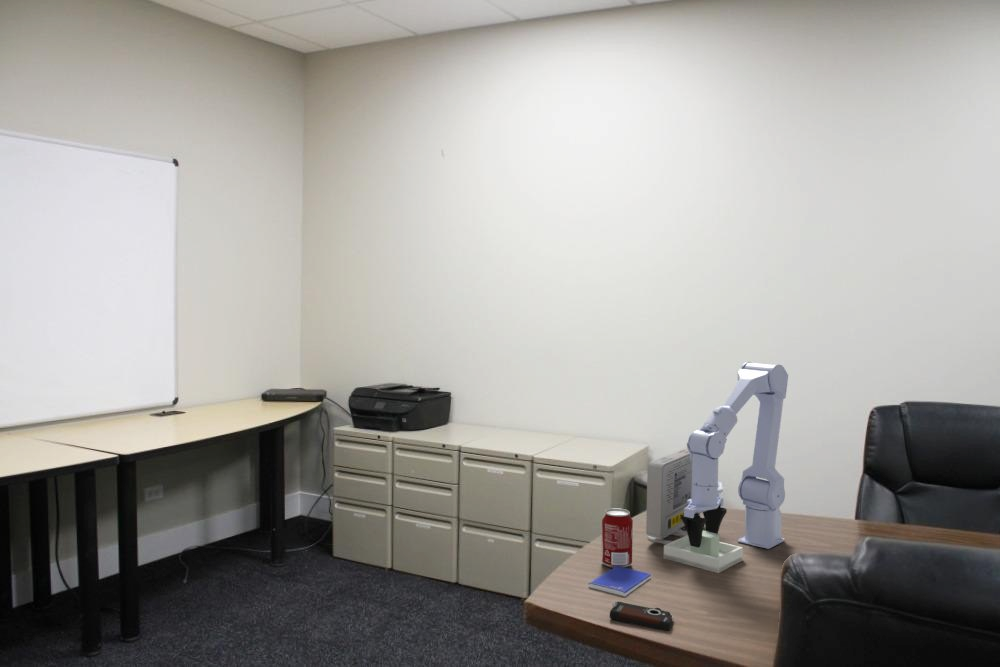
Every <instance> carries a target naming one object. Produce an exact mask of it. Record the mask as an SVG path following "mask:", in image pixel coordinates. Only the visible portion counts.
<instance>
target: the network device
mask: <svg viewBox="0 0 1000 667" xmlns="http://www.w3.org/2000/svg"><path fill="white" fill-rule="evenodd" d="M646 471H647V475H646V479H647V480H646V481H647V482H646V527H645V528H646V530H645V533H646V536H647V540H648V541H650V542H653V543H659V544H662V545H666V544H668V543H671V542H673V541H674V540H673V541H672V540H667V539H665V538H667V537H668V536H670V535H671V536H677V537H680V538H682V537H684V536H687V535H688V533H687V530H682V528H683V527H685V525H684V523H683V521H682V519H681V514H683V513H684V508H686V507H687V506H688V505H689V503H687V500H689V499H692V462H691V460H690V453H689V451H688V449H687V447H685V448H682V449H679V450H676V451H674V452H672V453H669V454H666V455H664V456H662V457H659V458H656V459H654V460H652V461H649V463H648V465H647V470H646ZM699 516H701V513H700V514H699Z"/></svg>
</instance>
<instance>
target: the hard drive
mask: <svg viewBox="0 0 1000 667" xmlns="http://www.w3.org/2000/svg"><path fill="white" fill-rule="evenodd" d="M651 577H652V576H651V573H648V572H644V571H640V570H637V569H632V568H628V567H626V568H624V567H619V566H617V567H615V568H611V569H610V570H608V571H607V572H605V573H603V574H601V575H600V576H597V577H596V578H595V579H594V580H592V581H590V582H588V588H590V589H595V590H599V591H602V592H606V593H610V594H615V595H617V596H623V597H626V596H628V595H629V594H630V593H632V592H633V591H635V590H636V589H637V588H639V587H640V586H642V585H644V583H646V582H647V581H649V580H650V579H651Z"/></svg>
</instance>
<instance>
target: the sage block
mask: <svg viewBox="0 0 1000 667" xmlns="http://www.w3.org/2000/svg"><path fill="white" fill-rule="evenodd" d="M719 542H720V533H718V534H716V533H712V532H708V531H706V530H704V529H703V532H702V539H701V545H700V547H699V548H698V547H694V546H691V550H690V551H692V552H696V553H700V554H704V555H708V556H711V557H715V558H716V557H718V556H719Z"/></svg>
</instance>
